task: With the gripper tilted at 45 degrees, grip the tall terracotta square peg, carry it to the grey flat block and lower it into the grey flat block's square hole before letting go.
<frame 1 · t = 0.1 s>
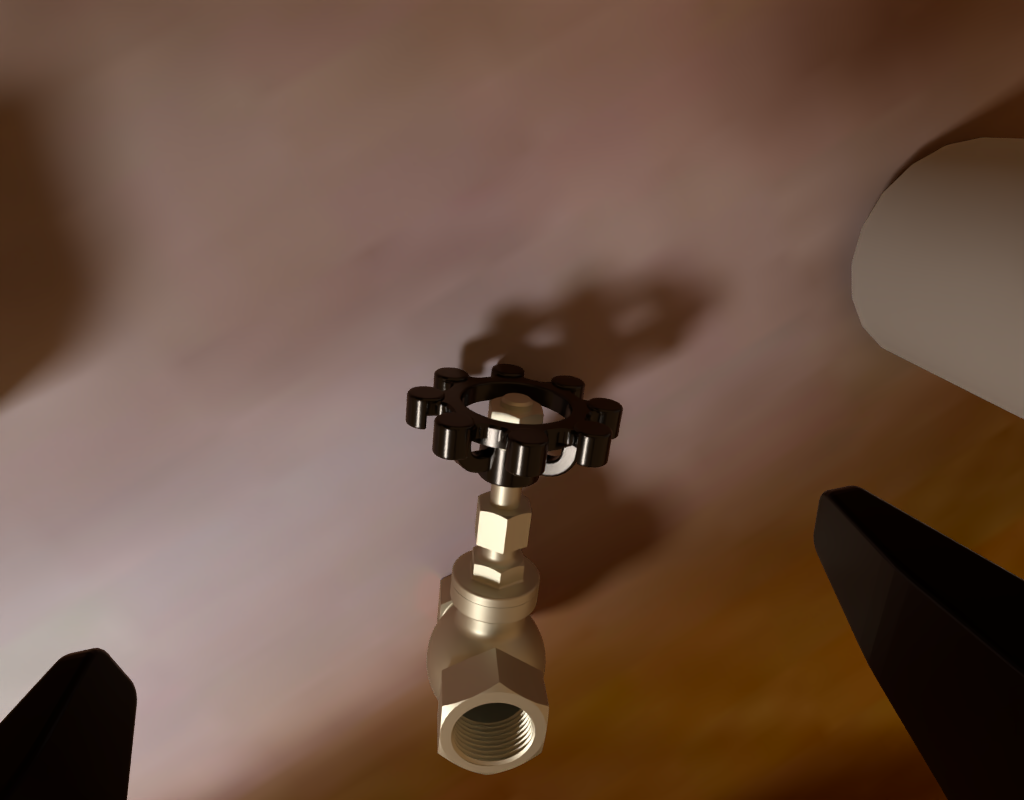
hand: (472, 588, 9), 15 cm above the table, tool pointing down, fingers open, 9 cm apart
can: (936, 251, 24), on the table
valve: (489, 510, 26), on the table
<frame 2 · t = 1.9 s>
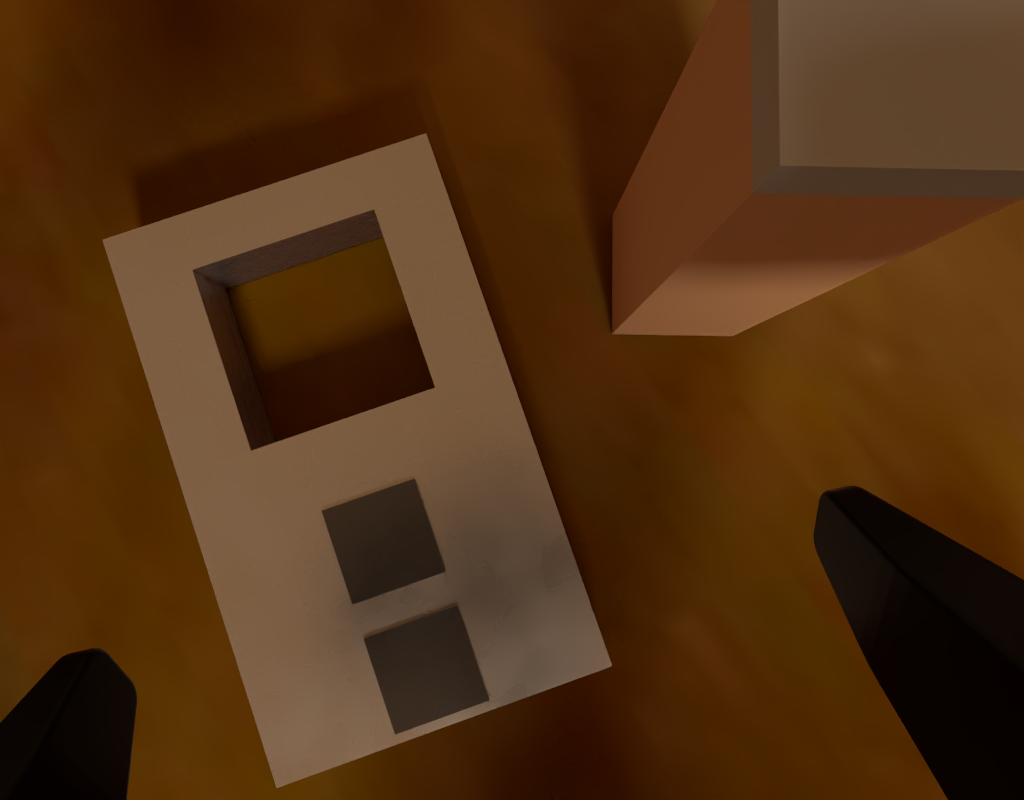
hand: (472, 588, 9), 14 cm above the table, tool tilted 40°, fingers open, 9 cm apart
square peg: (672, 275, 23), on the table
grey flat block: (333, 341, 23), on the table
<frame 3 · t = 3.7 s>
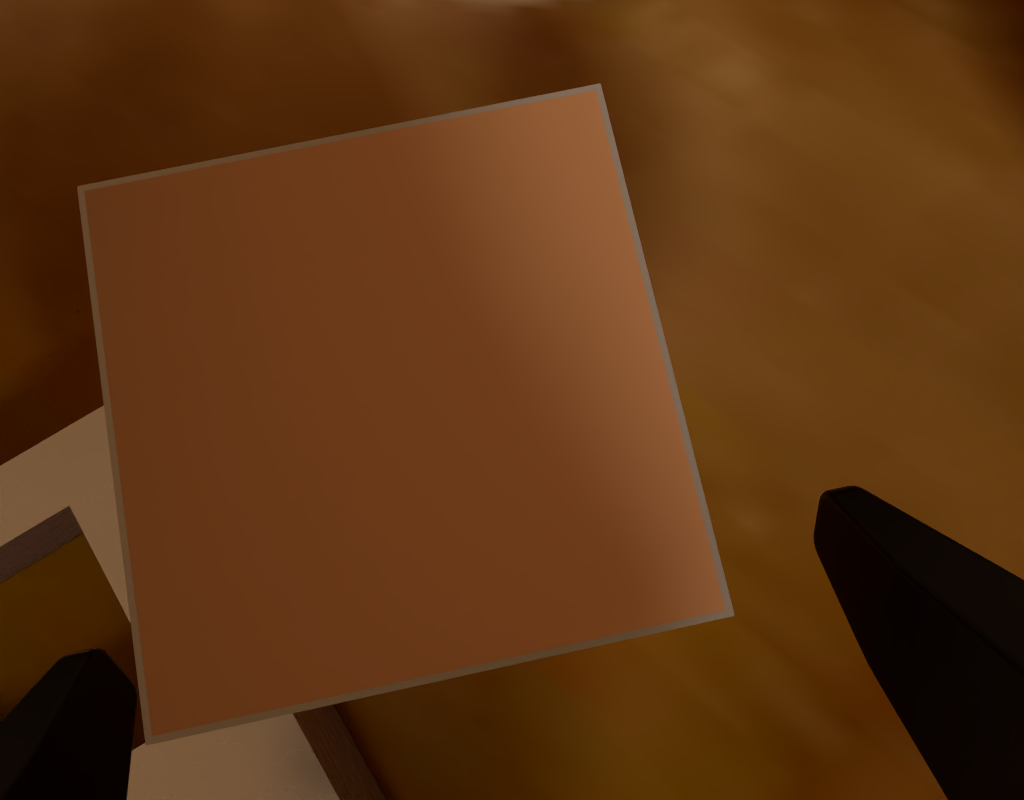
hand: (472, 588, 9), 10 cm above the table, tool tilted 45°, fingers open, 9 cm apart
square peg: (480, 476, 19), on the table
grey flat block: (81, 655, 18), on the table
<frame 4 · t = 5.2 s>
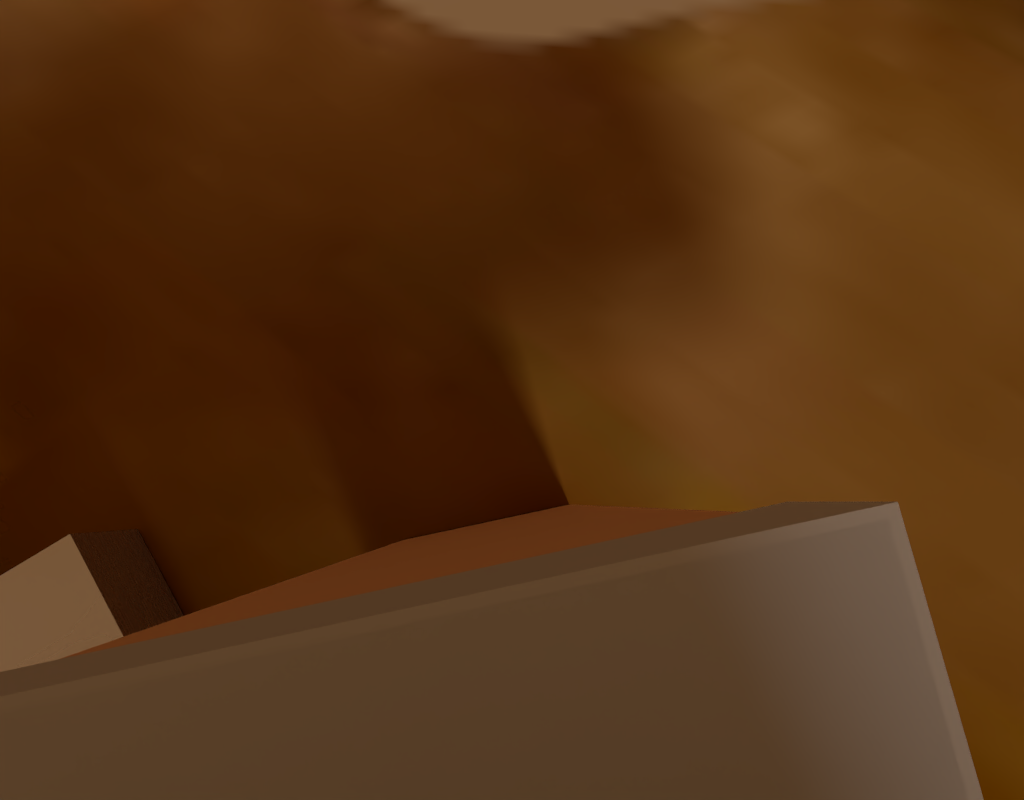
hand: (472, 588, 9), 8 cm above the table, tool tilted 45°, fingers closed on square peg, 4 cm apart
square peg: (503, 608, 16), on the table, touching gripper
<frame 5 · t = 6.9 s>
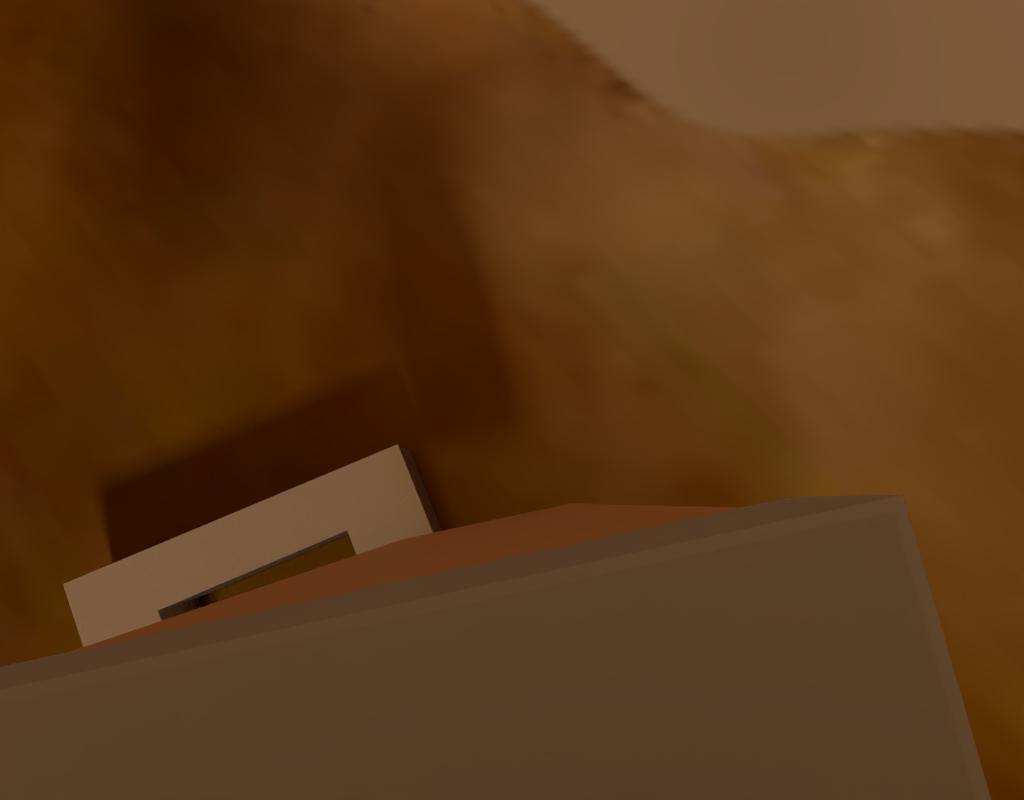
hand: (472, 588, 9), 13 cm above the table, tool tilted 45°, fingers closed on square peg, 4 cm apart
square peg: (504, 607, 16), point 6 cm above the table, touching gripper
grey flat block: (313, 647, 22), on the table
when the fingers open (8 cm above the table, at t = 8.9 s): square peg stays where it is, resting in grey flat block.
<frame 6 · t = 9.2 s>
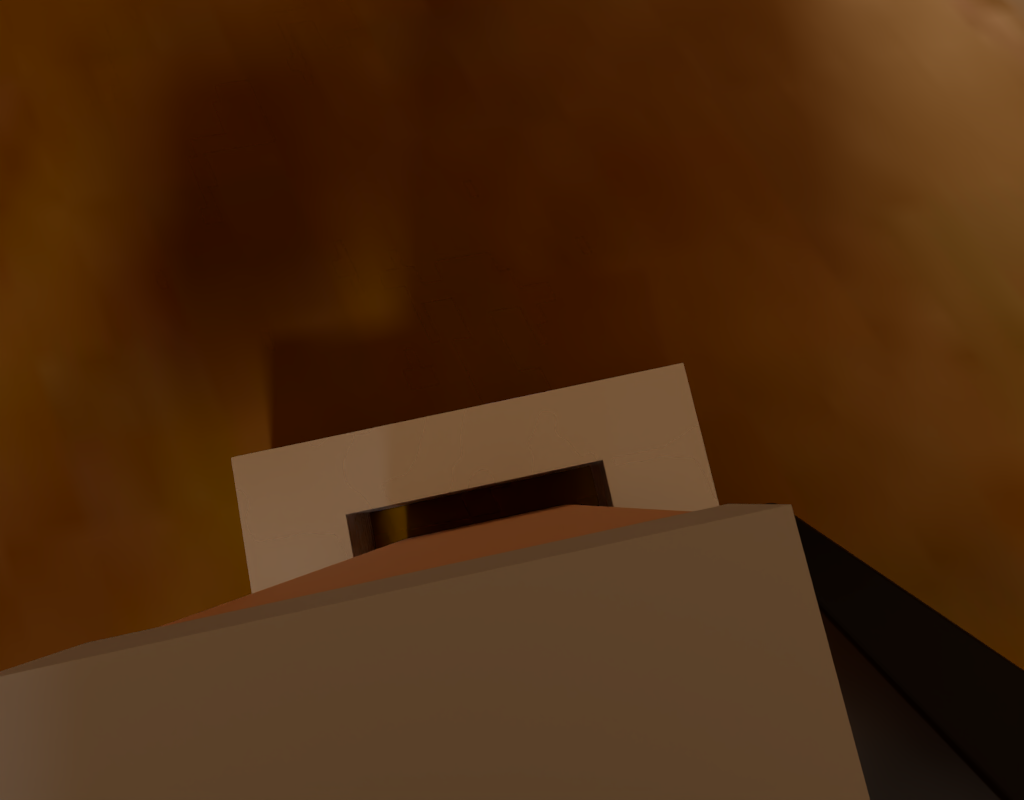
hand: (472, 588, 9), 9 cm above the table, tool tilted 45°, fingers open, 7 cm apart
square peg: (503, 602, 17), resting in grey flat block
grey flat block: (503, 602, 17), on the table
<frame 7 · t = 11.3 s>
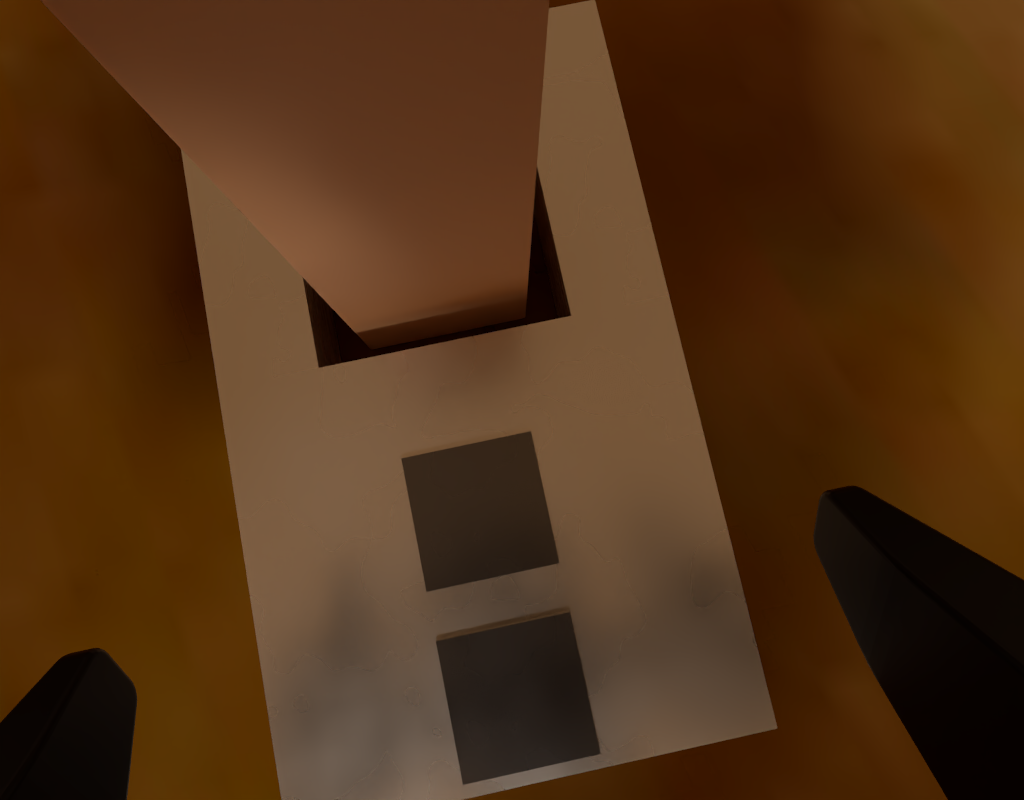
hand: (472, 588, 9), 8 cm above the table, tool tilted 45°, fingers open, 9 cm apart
square peg: (433, 260, 18), resting in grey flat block
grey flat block: (433, 259, 18), on the table
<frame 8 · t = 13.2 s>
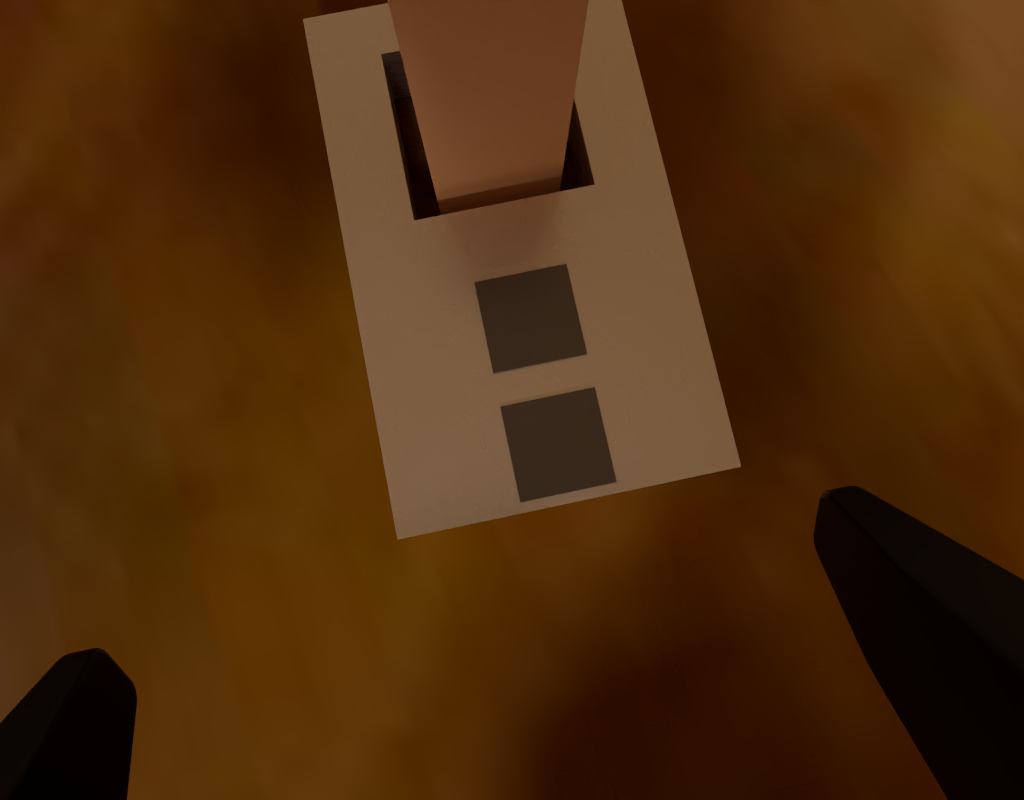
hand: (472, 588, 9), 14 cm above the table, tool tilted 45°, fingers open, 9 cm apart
square peg: (488, 158, 24), resting in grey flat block
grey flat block: (489, 158, 24), on the table
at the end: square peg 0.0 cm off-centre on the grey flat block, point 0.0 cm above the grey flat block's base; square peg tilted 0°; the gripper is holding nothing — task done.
